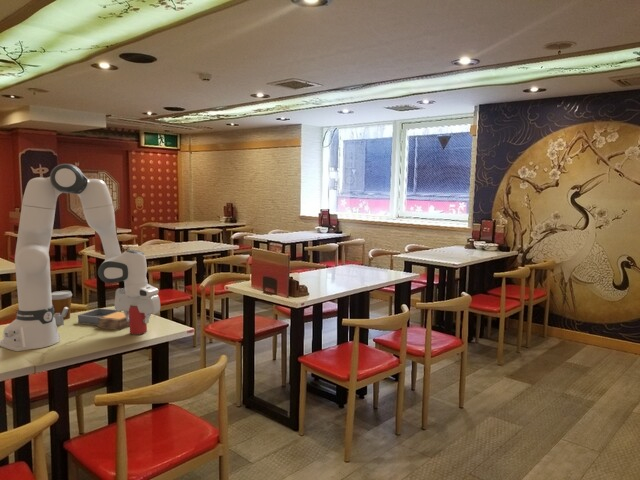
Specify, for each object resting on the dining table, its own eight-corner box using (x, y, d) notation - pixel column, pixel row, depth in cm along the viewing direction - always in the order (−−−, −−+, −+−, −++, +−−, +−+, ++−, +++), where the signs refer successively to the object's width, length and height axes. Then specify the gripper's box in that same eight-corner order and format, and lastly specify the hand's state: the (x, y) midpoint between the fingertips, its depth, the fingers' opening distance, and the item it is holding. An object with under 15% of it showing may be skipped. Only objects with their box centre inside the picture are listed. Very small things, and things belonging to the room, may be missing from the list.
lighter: (52, 325, 209) (51, 307, 209) (55, 324, 211) (53, 306, 210) (67, 325, 209) (66, 307, 208) (70, 324, 210) (68, 306, 209)
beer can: (141, 335, 195) (139, 306, 193) (126, 334, 196) (125, 305, 195) (150, 330, 201) (148, 302, 200) (135, 329, 202) (134, 302, 201)
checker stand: (98, 327, 206) (97, 318, 206) (117, 320, 217) (117, 311, 217) (120, 329, 202) (120, 320, 202) (139, 322, 213) (138, 313, 213)
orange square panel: (102, 319, 207) (102, 317, 206) (117, 314, 215) (117, 311, 215) (119, 321, 204) (119, 319, 204) (134, 316, 212) (134, 313, 212)
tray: (78, 322, 213) (77, 315, 212) (99, 315, 225) (99, 308, 224) (101, 325, 209) (100, 317, 208) (121, 317, 221) (121, 310, 220)
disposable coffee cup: (54, 316, 224) (52, 291, 222) (76, 315, 225) (75, 290, 224) (47, 322, 214) (45, 295, 213) (70, 320, 216) (68, 294, 215)
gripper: (110, 289, 196) (111, 322, 198) (152, 292, 190) (153, 326, 192) (120, 286, 202) (122, 318, 204) (162, 289, 196) (163, 322, 197)
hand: (137, 322), depth 198 cm, fingers open, 7 cm apart
